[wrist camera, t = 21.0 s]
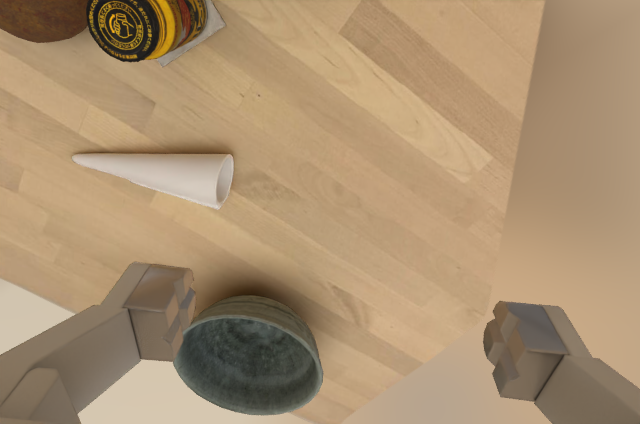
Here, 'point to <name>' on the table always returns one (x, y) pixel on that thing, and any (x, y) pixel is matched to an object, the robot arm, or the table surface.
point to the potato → (43, 19)
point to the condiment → (151, 27)
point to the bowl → (250, 357)
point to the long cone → (170, 173)
